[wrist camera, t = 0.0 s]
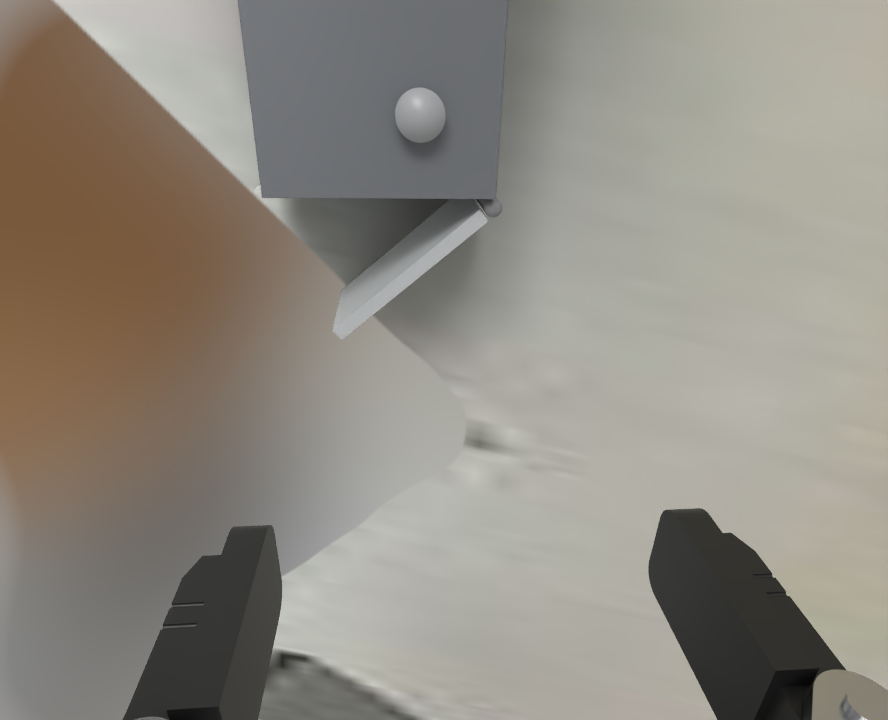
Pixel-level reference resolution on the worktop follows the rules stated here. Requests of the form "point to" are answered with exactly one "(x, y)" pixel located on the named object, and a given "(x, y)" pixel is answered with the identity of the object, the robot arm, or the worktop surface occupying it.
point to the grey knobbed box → (375, 96)
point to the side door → (410, 260)
